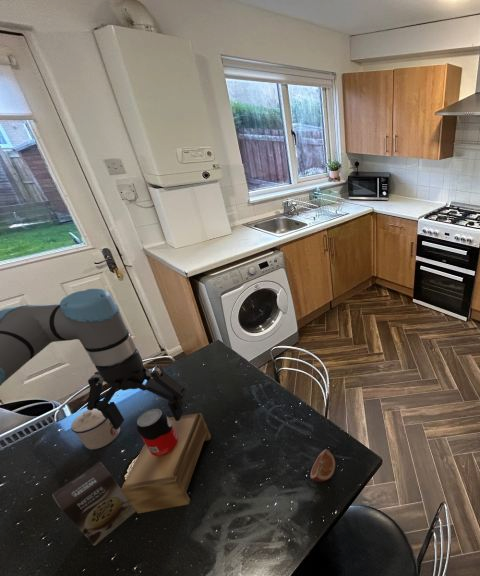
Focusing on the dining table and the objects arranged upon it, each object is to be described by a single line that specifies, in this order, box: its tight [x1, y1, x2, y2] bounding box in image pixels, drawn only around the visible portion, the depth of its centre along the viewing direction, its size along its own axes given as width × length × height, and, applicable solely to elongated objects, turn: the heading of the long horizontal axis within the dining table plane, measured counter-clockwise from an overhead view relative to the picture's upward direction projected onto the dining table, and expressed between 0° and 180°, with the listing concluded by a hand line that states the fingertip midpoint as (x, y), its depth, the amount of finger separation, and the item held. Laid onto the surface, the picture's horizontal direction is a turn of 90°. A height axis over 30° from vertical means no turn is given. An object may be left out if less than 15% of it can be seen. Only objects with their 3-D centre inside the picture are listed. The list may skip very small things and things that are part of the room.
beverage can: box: [136, 408, 178, 456], centre depth 80 cm, size 6×6×12 cm
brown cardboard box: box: [52, 461, 137, 546], centre depth 74 cm, size 9×6×16 cm
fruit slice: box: [309, 448, 336, 483], centre depth 87 cm, size 8×7×5 cm
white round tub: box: [70, 409, 121, 450], centre depth 96 cm, size 12×9×12 cm
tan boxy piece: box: [120, 412, 212, 514], centre depth 86 cm, size 12×20×12 cm, turn 11°
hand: (150, 420), depth 78 cm, fingers open, 13 cm apart
